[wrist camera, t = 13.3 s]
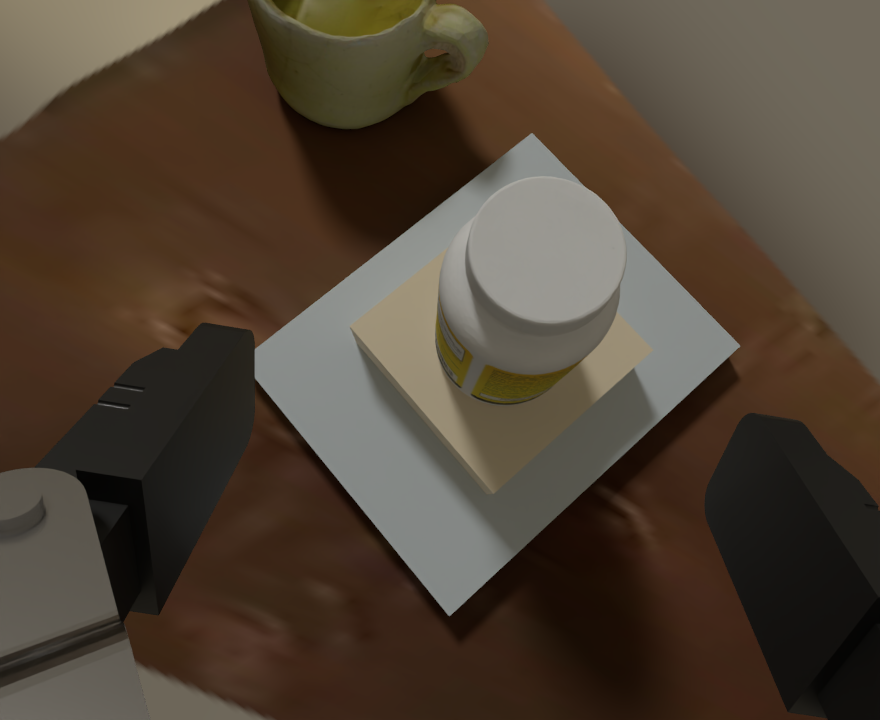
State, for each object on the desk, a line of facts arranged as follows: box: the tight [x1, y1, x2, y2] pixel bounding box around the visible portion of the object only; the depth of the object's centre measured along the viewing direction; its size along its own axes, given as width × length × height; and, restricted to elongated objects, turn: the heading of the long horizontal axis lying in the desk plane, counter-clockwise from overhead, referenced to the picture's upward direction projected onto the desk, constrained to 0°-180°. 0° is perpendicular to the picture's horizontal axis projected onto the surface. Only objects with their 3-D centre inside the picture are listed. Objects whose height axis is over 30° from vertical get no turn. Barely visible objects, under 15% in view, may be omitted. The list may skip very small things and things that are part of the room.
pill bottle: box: [435, 176, 627, 406], centre depth 23 cm, size 6×6×11 cm
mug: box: [247, 0, 488, 129], centre depth 33 cm, size 12×10×10 cm
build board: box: [255, 133, 740, 616], centre depth 31 cm, size 20×16×4 cm
